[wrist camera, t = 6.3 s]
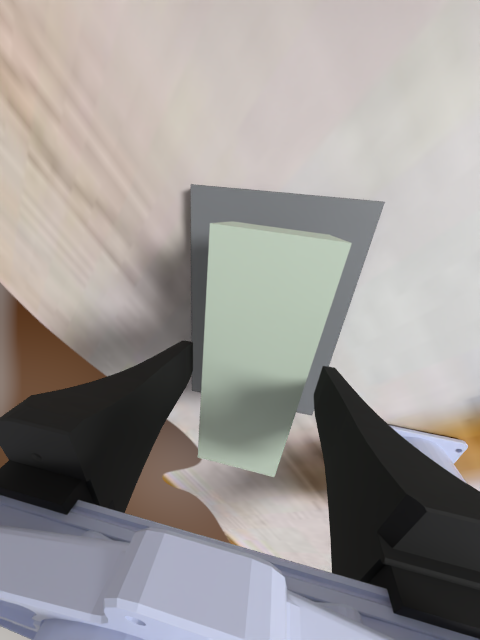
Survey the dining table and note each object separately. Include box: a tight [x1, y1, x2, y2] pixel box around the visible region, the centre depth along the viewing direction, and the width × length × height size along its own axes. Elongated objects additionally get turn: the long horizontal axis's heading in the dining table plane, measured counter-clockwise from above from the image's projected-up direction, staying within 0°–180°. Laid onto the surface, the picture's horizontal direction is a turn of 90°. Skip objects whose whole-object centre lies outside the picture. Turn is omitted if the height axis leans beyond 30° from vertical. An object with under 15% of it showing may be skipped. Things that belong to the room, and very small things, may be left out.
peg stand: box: [191, 184, 385, 415], centre depth 16 cm, size 18×12×4 cm, turn 175°
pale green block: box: [198, 221, 352, 477], centre depth 13 cm, size 14×5×4 cm, turn 173°
